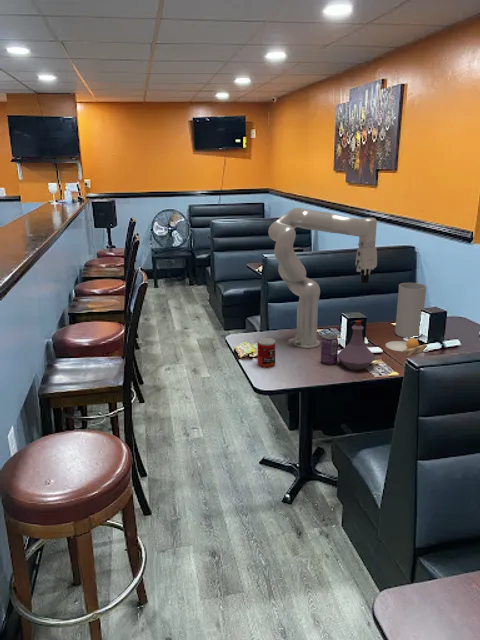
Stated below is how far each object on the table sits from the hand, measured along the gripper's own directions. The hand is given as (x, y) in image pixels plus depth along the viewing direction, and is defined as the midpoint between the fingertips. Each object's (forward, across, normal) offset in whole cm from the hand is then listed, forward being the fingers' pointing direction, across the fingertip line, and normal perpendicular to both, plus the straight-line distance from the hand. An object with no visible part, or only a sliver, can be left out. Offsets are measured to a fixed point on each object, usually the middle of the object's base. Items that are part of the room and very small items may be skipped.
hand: (364, 282), depth 240 cm
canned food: (+27, -60, -4) cm, 66 cm away
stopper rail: (+27, +3, -30) cm, 41 cm away
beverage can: (+27, -36, -17) cm, 48 cm away
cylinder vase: (+27, +20, -12) cm, 36 cm away
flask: (+27, -29, -26) cm, 48 cm away
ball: (+24, +5, -27) cm, 37 cm away
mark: (+27, +4, -21) cm, 35 cm away
